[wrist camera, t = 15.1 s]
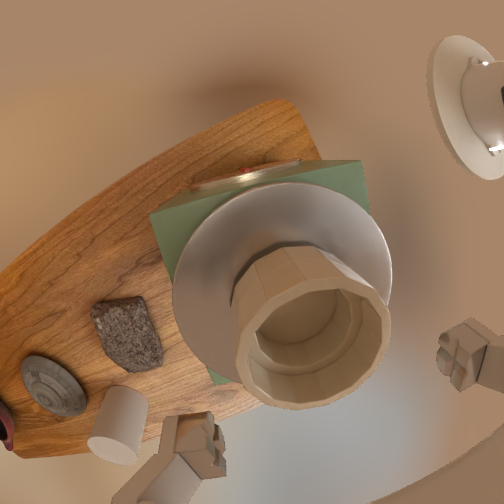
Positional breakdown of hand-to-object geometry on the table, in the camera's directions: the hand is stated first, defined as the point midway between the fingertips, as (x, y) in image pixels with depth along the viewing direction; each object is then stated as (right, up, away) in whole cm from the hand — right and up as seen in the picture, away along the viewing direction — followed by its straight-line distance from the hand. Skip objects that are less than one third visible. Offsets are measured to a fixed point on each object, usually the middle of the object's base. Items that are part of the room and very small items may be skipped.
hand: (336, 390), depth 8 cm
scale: (-3, +9, +28) cm, 30 cm away
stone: (-21, -7, +31) cm, 38 cm away
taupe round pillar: (-25, -22, +35) cm, 49 cm away
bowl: (-64, -35, +35) cm, 81 cm away
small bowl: (-1, +2, +6) cm, 7 cm away
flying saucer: (-40, -20, +33) cm, 56 cm away
